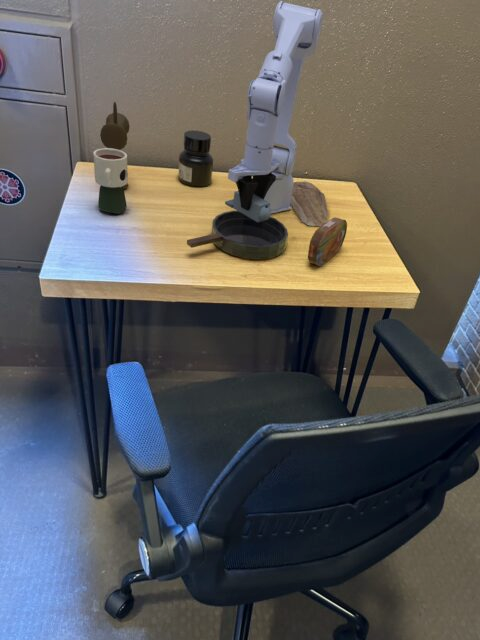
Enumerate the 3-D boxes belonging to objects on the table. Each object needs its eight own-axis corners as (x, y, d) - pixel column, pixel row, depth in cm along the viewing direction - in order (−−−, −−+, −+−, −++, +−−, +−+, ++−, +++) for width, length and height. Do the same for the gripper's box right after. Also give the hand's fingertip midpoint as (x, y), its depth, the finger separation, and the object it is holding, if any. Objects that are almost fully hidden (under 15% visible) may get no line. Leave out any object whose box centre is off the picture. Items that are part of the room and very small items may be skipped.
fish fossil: (339, 227, 135) (340, 223, 134) (300, 228, 133) (301, 224, 132) (313, 183, 153) (314, 180, 152) (279, 184, 151) (279, 180, 150)
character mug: (125, 222, 119) (124, 165, 111) (92, 218, 118) (88, 161, 110) (131, 201, 127) (130, 147, 119) (100, 198, 126) (97, 143, 118)
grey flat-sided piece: (224, 204, 119) (226, 187, 117) (236, 200, 122) (238, 184, 119) (262, 225, 114) (264, 209, 112) (273, 221, 116) (276, 205, 114)
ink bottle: (176, 172, 145) (178, 127, 137) (208, 174, 147) (211, 129, 140) (180, 187, 138) (182, 140, 130) (213, 189, 140) (217, 143, 133)
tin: (314, 271, 116) (322, 237, 111) (302, 266, 117) (309, 231, 112) (343, 248, 126) (352, 216, 121) (331, 243, 127) (340, 211, 122)
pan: (254, 218, 131) (256, 205, 129) (300, 251, 122) (303, 237, 120) (196, 231, 121) (197, 217, 119) (241, 267, 112) (243, 253, 110)
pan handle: (217, 236, 116) (218, 232, 115) (222, 240, 115) (222, 236, 114) (186, 244, 111) (186, 239, 111) (191, 248, 110) (191, 243, 110)
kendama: (103, 193, 128) (98, 106, 115) (107, 177, 135) (103, 93, 122) (128, 196, 129) (126, 110, 116) (131, 180, 136) (130, 97, 123)
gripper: (269, 133, 114) (260, 193, 123) (220, 142, 105) (214, 206, 114) (293, 144, 111) (282, 205, 120) (245, 154, 102) (237, 219, 111)
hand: (251, 206), depth 117 cm, fingers closed on grey flat-sided piece, 3 cm apart
